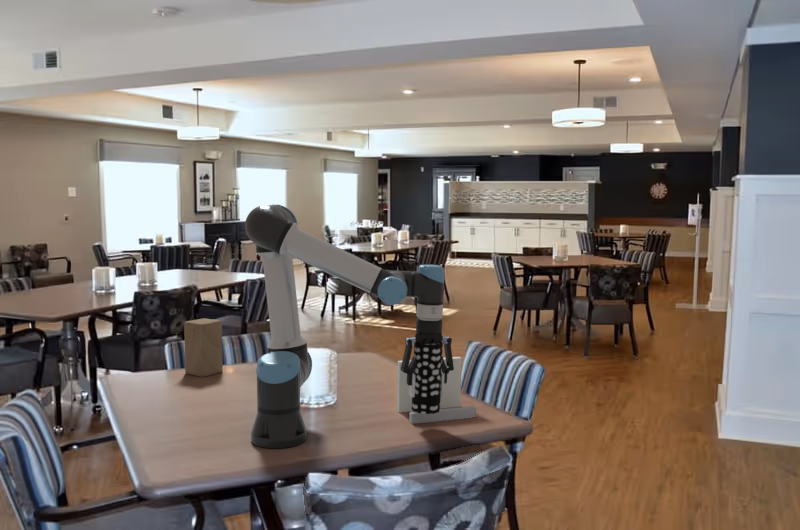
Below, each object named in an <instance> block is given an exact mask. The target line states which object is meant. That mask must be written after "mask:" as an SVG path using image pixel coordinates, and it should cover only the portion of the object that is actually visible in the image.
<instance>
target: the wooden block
mask: <svg viewBox="0 0 800 530" xmlns="http://www.w3.org/2000/svg"><path fill="white" fill-rule="evenodd" d="M183 325H184V326H183V328H184V329H183V331H184V332H183V335H184V370H185V371H184V372H185V374H187V375H190V376H194V377H195V376H197V377H201V378H205V377H208V376H212V375H216V374H220V373H223V370H224V369H223V367H224V365H223V361H224V360H223V321H222V320H219V319H212V318H211V319H210V318H205V317H203V318H199V319H193V320H186V321H184V323H183Z"/></svg>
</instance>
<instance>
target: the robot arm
mask: <svg viewBox="0 0 800 530" xmlns="http://www.w3.org/2000/svg"><path fill="white" fill-rule="evenodd" d="M298 225H299V223H298V219H297V218H296V215H295V214H294V212H293V211H291V209H289V208H288V207H286V206H284V205H281V204H268V205H267V204H264V205H263V204H262V205H259V206H256V207H255V208H253V209H252V210H250V212H249V213H248V214H247V216H246V219H245V222H244V230H245V233H246V236H247V237H248V239H249V241H251V242H252V243H253V244H255V251H256V254H257V255H258V256H259V257H260V258H261V260H262V265H263V273H264V274H263V275H264V283H265V285H264V286H265V292H266V301H267V302H266V304H267V311H268V320H269V329H270V330H269V331H270V337H271V340H270V341H269V343H268V344H267V345H266V348H267V353H265V354H263V355H261V356H260V357H259V358H258V360H257V363H256V364H257V365H256V369H255V370H256V372H255V373H256V397H257V398H256V400H257V402H256V403H257V409H256V410H257V411H256V413H257V414H256V417H255V419H254V423H253V425H252V429H251V432H250V435H251V436H250V441H251V443H252V444H253V445H255V446H257V447H259V448H260V447H261V448H265V449H285V448H286V449H287V448H291V447H296V446H299V445H301V444H303V443H304V442H306V440H307V438H308V437H307V434H308V433H307V431H308V430H307V427H306V425H305V421H304V418H303V415H302V412H301V387H302V386H303V385H304V384H305V382H306V381H307V380H308V379H309V378H310V376H311V373H312V369H313V359H312V357H311V354H310V352H308V342H307V340H306V339H305V338H304V337H303V336H302V334H301V326H300V317H299V316H300V315H299V307H298V298H297V288H296V279H295V277H296V276H295V269H294V259H293V258H295V259H297V260H298V261H300V262H303V263H305V264H307V265H309V266H312V267H314V268H316V269H318V270H320V271H322V272H324V273H327V274H328V275H330V276H333V277H335V278H337V279H339V280H341V281H343V282H346V283H347V284H350V285H351V286H353V287H356V288H357V289H358V288H359V289H361V290H362V291H364V292H366V293H368V294H371V295H372V296H374V297H376V298H378V299H379V300H381V302H383V304H385V305H389V306H396V305H399V304H401V303H402V302H403V301H404V300H405V299H406V298H416V299H417V302H416V318H417V319H416V320H415V321H416V322H415V323H416V324H415V335H414V337H405V339H404V341H405V347H404V352H403V358H402V360H401V361H402V365H401V371H402V372H404V373H407V385H409V395H410V396H411V397H415V374H413V372H414V370H415V368H416V360H417V357H414V354H413V355H412V353H413V347H414V342H415V341H416V342H417V343H419V344H422V343H423V344H428V343H433V344H438V343H441V342H443V349H444V350H443V351H444V355H445V357H444V356H443V355H442V375H441V396H443V395H444V384H445V383H447V374H448V373H449V371H453V370H454V366H453V359H452V357H453V352H452V340H453V339H452V338H451V337H449V336H448V335H447V336H443V320H442V318H443V316H444V315H443V312H444V295H445V292H444V291H445V269H444V267H443V266H442V265H440V264H439V265H438V264H420V265H419V266H418V268H417V270H414V271H409V270H391V269H384V268H382V267H380V266H378V265H376V264H373V263H371V262H369V261H367V260H365V259H363V258H361V257H359V256H357V255H355V254H353V253H350V252H348V251H346V250H344V249H342V248H340V247H338V246H336V245H334V244H332V243H330V242H327V241H326V240H323V239H322V238H319V237H318V236H315V235H312V234H310V233H308V232H307V231H304V230H302V229H301V228H299V226H298ZM411 355H412V358H411ZM443 358H446V364H447V366H446V364H445V362H444V359H443ZM410 360H411V362H410V364H409V361H410Z"/></svg>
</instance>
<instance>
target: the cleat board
mask: <svg viewBox="0 0 800 530" xmlns="http://www.w3.org/2000/svg"><path fill="white" fill-rule="evenodd" d="M443 359H444V362H445V364H446V357H443ZM452 359H453V366H454V370H453V371H449V373H448V374H447V383H445V384H444V395H443V396H441V398H440V411H439V412H438V413H434V414H421V413H417V412H414V411H412V397H411V396H410V395H409V385H407V373H404V372H402V371H401V365H402V361H403V360H397V373H396V374H397V376H396V377H397V382H396V383H397V385H396V387H397V388H396V389H397V392H396V393H397V394H396V412H398V413H407V412H409V415H408V417H409V418H408V420H409V423H410V424H411V425H414V424H423V423H432V422H433V423H435V422H444V420H445V421H454V419H455V420H464V418H465V419H473V418H472V417H475V418H477V414H476V413H477V407H475V406H474V405H469V406H461V405H462V403H461V402H462V400H461V399H462V362H463V361H462V359H463V358H462V357H461V356H452ZM411 360H412V359H410V361H409V364H410V362H411ZM446 366H447V364H446Z"/></svg>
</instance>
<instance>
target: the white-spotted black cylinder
mask: <svg viewBox="0 0 800 530" xmlns="http://www.w3.org/2000/svg"><path fill="white" fill-rule="evenodd" d="M443 349H444V343H443V341H442V342H441V343H438V344H433V343H428V344H423V343H422V344H419V343H417V342H416V341H415V342H414V345H413V355H414V357H417V360H416V368H415V370H414V372H413V374H415V397H412V411H411V412H417V413H421V414H434V413H438V412H439V411H440V398H441V375H442V356H443V351H444V350H443Z"/></svg>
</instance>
